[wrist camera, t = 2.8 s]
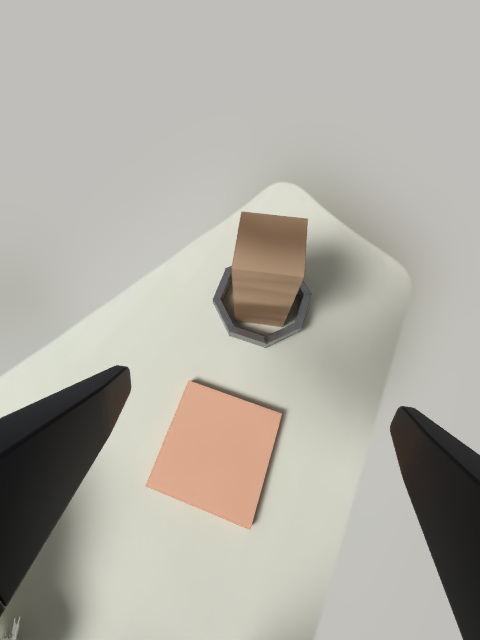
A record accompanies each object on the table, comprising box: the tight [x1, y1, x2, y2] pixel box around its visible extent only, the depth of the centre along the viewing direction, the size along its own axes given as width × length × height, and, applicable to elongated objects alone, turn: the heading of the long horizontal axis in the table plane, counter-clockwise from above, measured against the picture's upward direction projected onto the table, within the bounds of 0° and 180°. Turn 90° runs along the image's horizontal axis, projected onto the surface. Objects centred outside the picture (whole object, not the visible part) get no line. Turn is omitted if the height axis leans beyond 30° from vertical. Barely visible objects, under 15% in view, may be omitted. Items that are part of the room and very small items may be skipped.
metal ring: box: [213, 266, 311, 348], centre depth 25 cm, size 8×8×1 cm
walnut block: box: [232, 212, 308, 327], centre depth 21 cm, size 4×4×9 cm
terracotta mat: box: [146, 381, 282, 530], centre depth 21 cm, size 8×8×1 cm
